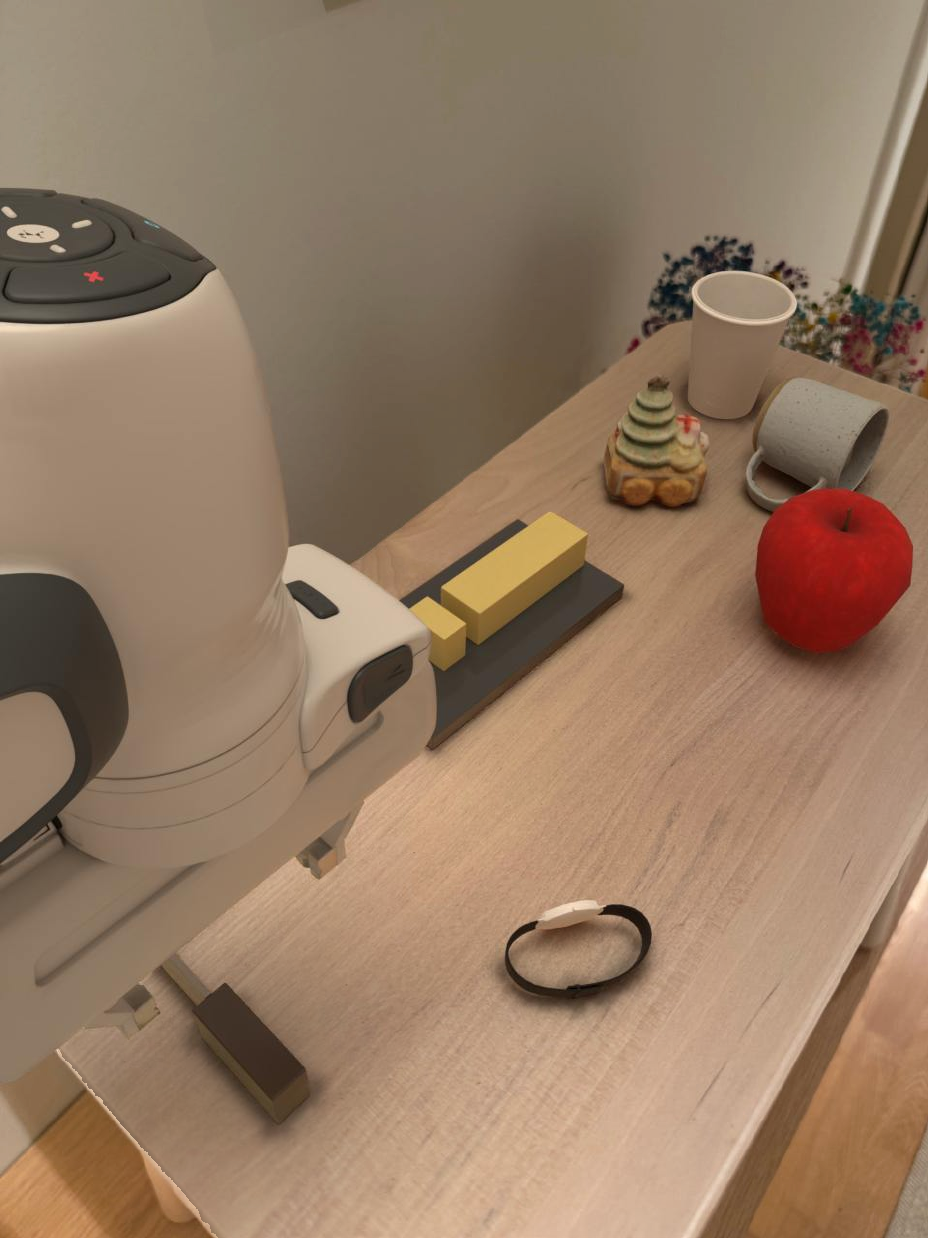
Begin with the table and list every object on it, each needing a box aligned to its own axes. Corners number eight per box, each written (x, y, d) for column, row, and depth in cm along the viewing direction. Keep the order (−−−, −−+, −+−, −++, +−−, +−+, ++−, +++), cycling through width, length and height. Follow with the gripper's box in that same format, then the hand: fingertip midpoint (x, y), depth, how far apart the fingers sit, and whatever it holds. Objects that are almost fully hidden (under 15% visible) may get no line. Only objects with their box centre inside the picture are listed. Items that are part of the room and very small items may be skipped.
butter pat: (443, 671, 68) (444, 639, 66) (405, 643, 69) (405, 611, 67) (465, 655, 69) (466, 623, 67) (427, 628, 70) (427, 595, 68)
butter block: (478, 646, 69) (479, 613, 67) (439, 618, 71) (440, 586, 69) (584, 565, 75) (588, 533, 73) (546, 542, 77) (550, 510, 75)
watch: (628, 906, 58) (638, 870, 55) (660, 986, 55) (672, 953, 52) (492, 936, 56) (495, 901, 54) (516, 1020, 53) (521, 988, 51)
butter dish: (432, 750, 65) (432, 738, 64) (324, 664, 70) (323, 652, 69) (622, 596, 75) (624, 584, 74) (516, 530, 79) (517, 518, 79)
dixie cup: (681, 366, 96) (701, 262, 89) (774, 384, 94) (803, 280, 87) (663, 416, 90) (683, 309, 83) (761, 437, 88) (791, 329, 81)
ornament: (693, 462, 86) (717, 353, 79) (709, 510, 82) (737, 400, 74) (595, 463, 85) (611, 354, 78) (607, 512, 81) (625, 402, 74)
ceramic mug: (783, 431, 89) (806, 351, 84) (873, 472, 85) (903, 391, 80) (715, 490, 84) (734, 409, 78) (808, 537, 80) (835, 455, 74)
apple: (869, 701, 68) (926, 578, 61) (723, 657, 71) (759, 534, 63) (887, 602, 75) (940, 480, 67) (752, 565, 77) (788, 443, 70)
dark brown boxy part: (278, 1125, 49) (272, 1101, 47) (130, 956, 55) (118, 928, 53) (311, 1094, 50) (306, 1069, 48) (162, 931, 56) (152, 902, 54)
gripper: (-103, 1023, 26) (45, 1195, 36) (466, 606, 37) (460, 827, 47) (-212, 866, 29) (-47, 1065, 39) (344, 522, 40) (362, 747, 50)
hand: (232, 933), depth 43 cm, fingers open, 8 cm apart
